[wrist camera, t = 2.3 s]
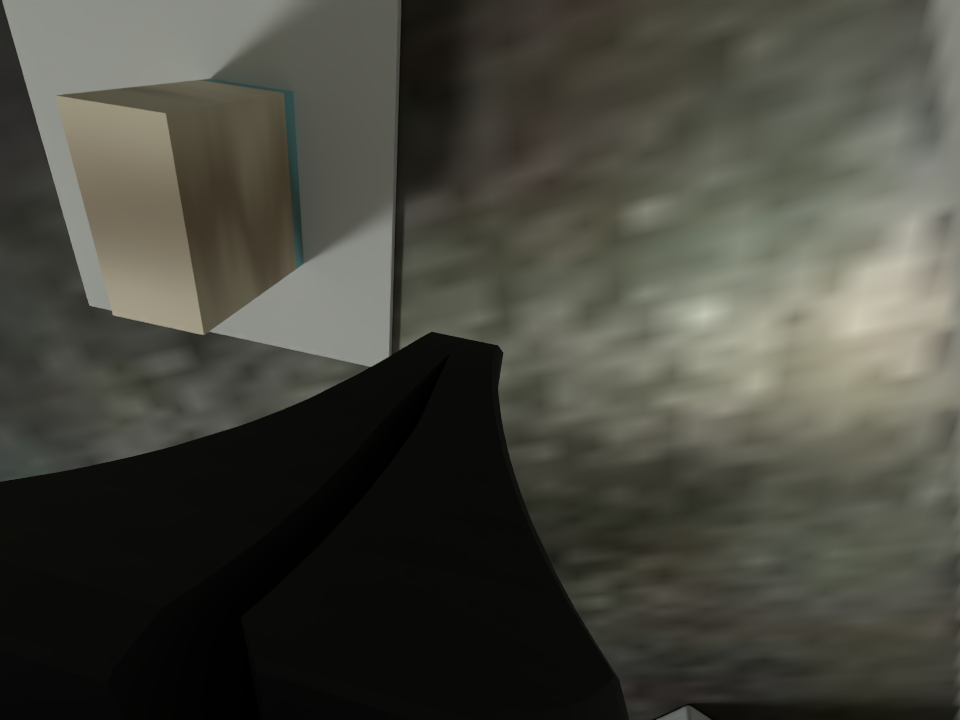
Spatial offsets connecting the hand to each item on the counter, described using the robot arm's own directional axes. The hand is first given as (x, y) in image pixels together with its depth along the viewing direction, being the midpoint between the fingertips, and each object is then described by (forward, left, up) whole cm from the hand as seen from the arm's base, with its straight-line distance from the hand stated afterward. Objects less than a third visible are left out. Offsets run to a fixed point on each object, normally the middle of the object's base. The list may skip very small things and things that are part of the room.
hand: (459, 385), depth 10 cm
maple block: (0, +10, -10) cm, 14 cm away
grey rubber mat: (0, +12, -10) cm, 16 cm away
